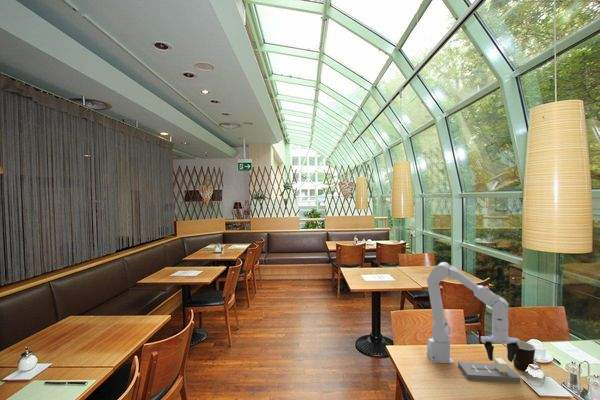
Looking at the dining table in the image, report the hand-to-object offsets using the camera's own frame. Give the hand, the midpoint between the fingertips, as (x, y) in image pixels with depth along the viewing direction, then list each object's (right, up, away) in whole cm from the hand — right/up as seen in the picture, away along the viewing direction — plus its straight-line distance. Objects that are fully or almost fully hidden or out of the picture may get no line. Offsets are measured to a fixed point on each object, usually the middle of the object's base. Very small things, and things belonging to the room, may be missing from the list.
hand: (500, 360), depth 127 cm
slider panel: (-5, -6, +1) cm, 8 cm away
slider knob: (0, -4, 0) cm, 4 cm away
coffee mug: (+14, -6, +6) cm, 17 cm away
